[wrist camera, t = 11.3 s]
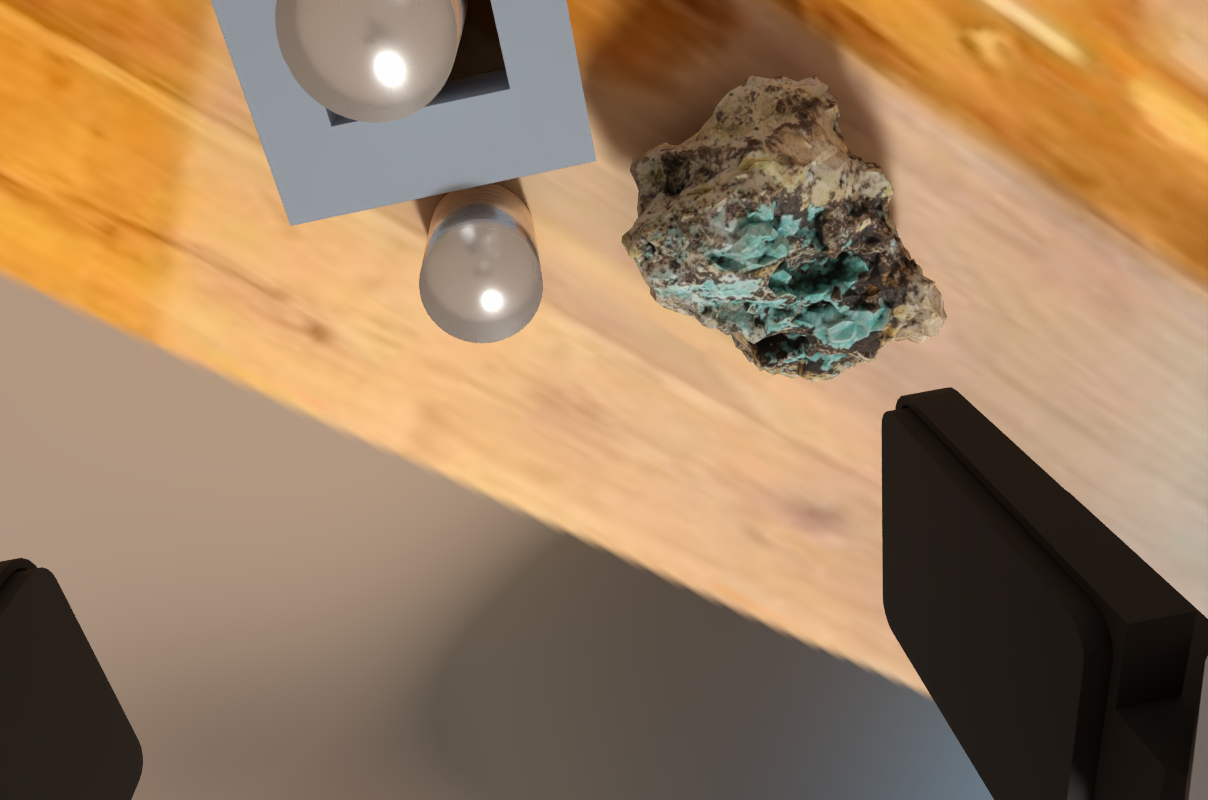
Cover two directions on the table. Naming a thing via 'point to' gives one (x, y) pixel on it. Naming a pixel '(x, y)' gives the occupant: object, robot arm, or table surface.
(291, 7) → the long pin
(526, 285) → the short pin
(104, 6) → the table surface
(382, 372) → the table surface
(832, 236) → the mineral specimen
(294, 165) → the hole block
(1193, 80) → the table surface
